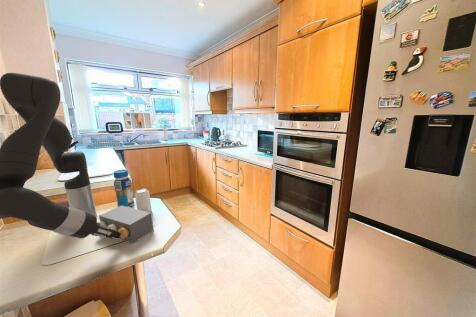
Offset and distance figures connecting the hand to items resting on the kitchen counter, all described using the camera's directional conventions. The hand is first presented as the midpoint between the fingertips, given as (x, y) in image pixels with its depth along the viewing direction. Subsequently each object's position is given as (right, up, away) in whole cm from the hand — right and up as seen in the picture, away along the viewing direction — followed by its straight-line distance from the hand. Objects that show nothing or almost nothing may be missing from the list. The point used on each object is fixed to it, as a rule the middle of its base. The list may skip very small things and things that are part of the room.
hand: (118, 235), depth 73 cm
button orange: (+2, -1, +4) cm, 4 cm away
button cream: (-4, -1, +6) cm, 8 cm away
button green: (-10, 0, +9) cm, 14 cm away
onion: (-43, 0, +28) cm, 51 cm away
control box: (-3, -2, +11) cm, 11 cm away
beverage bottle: (-18, +3, +36) cm, 40 cm away
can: (-3, +1, +27) cm, 27 cm away
